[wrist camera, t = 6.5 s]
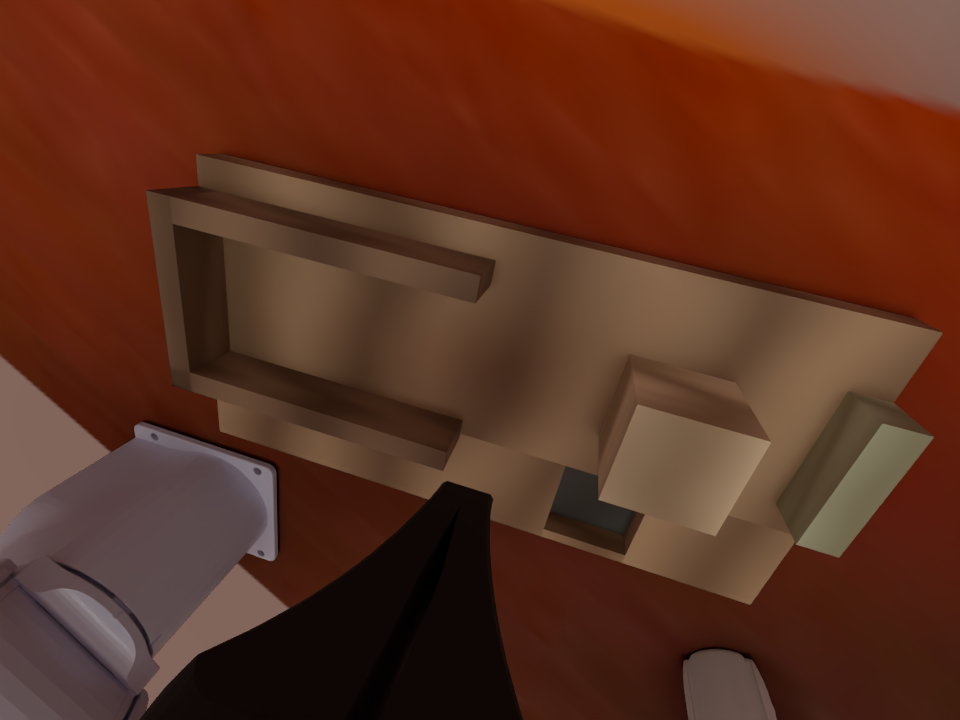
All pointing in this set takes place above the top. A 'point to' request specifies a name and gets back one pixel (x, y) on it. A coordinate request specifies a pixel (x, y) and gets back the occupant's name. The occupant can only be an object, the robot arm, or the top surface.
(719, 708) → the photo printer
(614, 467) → the cube
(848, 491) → the board
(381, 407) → the cubby
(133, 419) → the top surface
